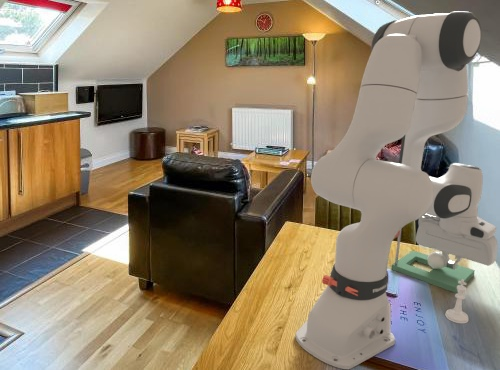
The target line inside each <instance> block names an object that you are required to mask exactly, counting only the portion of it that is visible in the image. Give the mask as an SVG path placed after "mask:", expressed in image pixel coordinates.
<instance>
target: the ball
mask: <svg viewBox="0 0 500 370" xmlns="http://www.w3.org/2000/svg"><path fill="white" fill-rule="evenodd" d="M427 255H428V258H427V262H428V264H429V265H428V266H429V267H431V269H441V268H443V267H444V266H445V261H444V258H443V256H442V252H441V251H432V252H431V253H429V254H427Z"/></svg>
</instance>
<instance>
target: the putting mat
mask: <svg viewBox="0 0 500 370" xmlns="http://www.w3.org/2000/svg"><path fill="white" fill-rule="evenodd" d="M402 228H403V227H402ZM402 228H401V229H400V230H399V231H398V232H397V234H396V235H395V237H394V239H396V238H397V243H396V251H395V252H396V253H395V258H394V259H395V261H394V262H393V263H392V264H391V270H394V271H396V272H398V273H400V274H403V275H407V276H409V277H412V278H413V279H417V280H420V281H422V282H424V283H428V284H431V285H433V286H436V287H438V288H441V289H444V290H445V291H446V290H447V291H449V292H452V293H455V294H458V291H457V286H458V285H461V284H460V283H458V281H462V279H464V282H465V283H468V282H469V280H471V279H472V278H473V277H474V275H475V271H476V270H475V269H473V268H469V267H467V266H463V265H460V264H457V268H456V269H455V270H453V269H450V268H448V267H445V266H444V267H443V268H441V269H434V268H432V269H431V270H430V271H429V270H428V271H427V270H424V269H422V268H419V267H416V266H413V265H411V264H413V263H414V262H417V263H421V264H424V265H426V266H430V265H429V264H428V262H427V258H428V255H429V254H425V253H424V252H423V253H422V252H419V251H416V250H412V251H410V252H408V253H407V254H405V255H404V256H403V257H400V258H399V254H400V245H401V238H402Z"/></svg>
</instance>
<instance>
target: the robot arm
mask: <svg viewBox="0 0 500 370" xmlns="http://www.w3.org/2000/svg"><path fill="white" fill-rule="evenodd" d="M481 40H482V27H481V24H480V21H479V20H478V18H477V17H476V15H474V14H473V12H469V11H459V10H458V11H455V10H454V11H451V12H450V13H433V14H419V15H414V16H410V17H406V18H402V19H399V20H395V19H394V20H392V21H388V22H386V23H384V24H382V25H381V26H379V28H377V30H376V31H375V33H374V35H373V37H372V39H371V46H370V50H371V52H370V55H369V58H368V60H367V63H366V66H365V68H364V72H363V76H362V77H361V78H362V79H361V82H360V83H361V84H360V88H359V92H358V97H357V102H356V105H355V110H354V113H353V117H352V120H351V123H350V125H349V127H348V129H347V132H346V133H345V135H344V136H343V138H342V139H341V140H340V142H339V143H338V144H337V145H336V146H335V148H333V149H332V150H330V151H329V152H328V153H326V154H325V155H323V156H321V157H320V158H319V159H318V160H317V161H316V163H315V164H314V165H313V167H312V171H311V175H310V181H311V182H310V183H311V186H312V189H313V191H314V193H315V194H316V195H317V196H319V197H321V198H323V199H325V200H326V201H328V202H331V203H332V204H334V205H335V204H336V205H338V206H339V205H340V206H343V207H346V208H349V209H354V210H357V211H359V212H361V213H360V214H361V217H360V222H356V223H351V224H349V225H346V226H344V227H343V228H342V229H341V230H340V231H339V233H338V234H337V236H336V238H335V239H336V243H335V254H334V255H335V256H334V257H335V258H334V263H333V265H332V269H331V270H330V275H328V274H325V275H323V276H322V278H321V279H322V281H321V283H322V284H323V285H326V287H325V289H324V290H323V291H322V293H321V295H320V296H319V298H318V299H317V301H316V302H315V303H314V305H313V307H312V308H311V310H310V311H309V314H308V316H307V317H308V318H307V320H306V321H305V322H304V323H303V324H302V326H301V327H299V329H298V330H297V331H296V332H295V336H294V337H295V341H296V342H297V343H298V344H299V346H300V347H302V349H303V350H305V351H306V352H307V353H308V354H310V355H311V356H313V357H314V358H316V359H317V360H320V361H321V362H323V363H325V364H327V365H330V366H332V367H334V368H338V369H340V370H341V369H343V370H350V369H353V368H354V367H356V366H358V365H360V364H361V363H362V364H363V362H365V361H367V360H369V359H371V358H373V357H374V356H375V355H378V354H381V352H383V351H385V350H387V349H389V348H390V347H392V346H394V345H395V344H396V338H395V335H394V334H393V333H392V331H391V330H392V329H391V327H392V325H391V323H392V322H391V321H392V304H391V302H390V300H389V297H388V296H387V290H388V285H389V282H390V281H389V272H388V264H389V257H390V251H391V246H392V244H393V242H394V239H395V238H394V237H395V235H396V234H397V232H398V231H399V230H400V229H401V228H404V227H405V226H406V225H408V224H410V223H412V222H415V221H418V228H417V231H416V235H415V241H416V243H417V245H420V246H423V247H426V248H430V249H433V250H436V251H438V252H441V253H442V256H443V258H444V261H445V267H448V268H450V269H453V270H455V269H456V268H457V265H459V264H458V263H460V261H462V260H463V259H465V260H467V261H471V262H473V263H474V262H475V263H478V264H480V265H484V266H487V267H488V266H491V265H493V264H495V262H496V261H497V256H498V240H497V238H496V236H495V234H496V232H497V227H496V226H495V225H494V224H492V223H490V222H488V221H486V220H484V219H483V218H481V217H479V216H478V215H479V210H478V207H479V203H480V201H481V198H482V191H483V182H484V181H483V180H484V178H483V177H484V176H483V170H482V169H480V167H477V166H474V165H470V164H465V163H461V162H460V163H459V162H453V163H450V165H449V167H448V170H447V171H446V173H444V174H443V175H442V176H440V177H434V176H431V175H429V174H428V173H427V172H426V171H422V163H423V162H422V161H423V157H424V155H423V154H424V151H425V150H424V149H425V144H426V143H427V140H428V139H429V138H430V137H432V136H437V135H440V134H443V133H446V132H449V131H451V130H453V129H454V128H456V127H457V126H458V125H460V123H461V122H462V121H463V120H464V118H465V117H466V113H467V110H468V99H469V97H468V94H469V83H468V82H469V81H468V79H469V77H468V69H467V65H469V63H471V62H472V60H473V59H474V58H475V57H476V55H477V53H478V52H479V49H480V45H481ZM398 140H401V145H400V149H399V150H400V151H399V152H400V153H399V159H398V162H393V161H387V160H381V159H377V156H378V155H379V153H380V151H381V150H382V149H383V148H384V147H385V146H387V145H388V144H389V145H390V144H391V143H394V142H398ZM401 230H402V229H401ZM449 255H452V256H454V259H455V261H454V260H451V259H450V256H449Z"/></svg>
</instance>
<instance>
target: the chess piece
mask: <svg viewBox="0 0 500 370" xmlns="http://www.w3.org/2000/svg"><path fill="white" fill-rule="evenodd" d="M458 283H460V284H461V285H458V286H457V291H458V292H457V293H455V295H454V297H455V298H456V302H455V305H454V307H453V308H449V309H447V310H445V317H446V319H448V320H449V321H451V322H454V323H455V324H467V323H468V322H469V315H468V314H467V313H466V312H465V311H463V309H462V308H463V300H465V299H466V296H465V295H464V294H465V293H466V291H467V284H468V282H466V283H465V282H464V279H462V281H458Z"/></svg>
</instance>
